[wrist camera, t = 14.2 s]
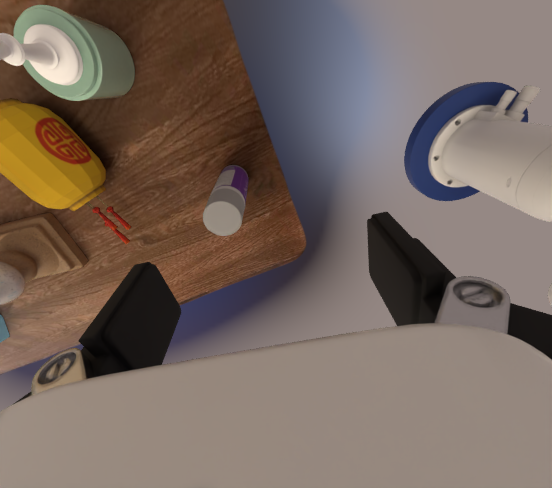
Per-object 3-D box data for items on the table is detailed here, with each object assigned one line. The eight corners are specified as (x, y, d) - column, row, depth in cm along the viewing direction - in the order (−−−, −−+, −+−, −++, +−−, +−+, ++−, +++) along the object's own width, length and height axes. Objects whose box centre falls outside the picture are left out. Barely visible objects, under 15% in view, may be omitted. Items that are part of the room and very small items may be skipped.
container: (252, 187, 43) (249, 229, 30) (227, 196, 44) (213, 241, 31) (241, 160, 41) (232, 194, 28) (214, 170, 41) (193, 208, 29)
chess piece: (93, 76, 27) (15, 71, 18) (53, 91, 27) (-42, 94, 19) (59, 16, 24) (-50, -22, 16) (15, 35, 25) (-114, 8, 16)
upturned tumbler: (64, 11, 31) (-1, -14, 23) (135, 37, 32) (96, 21, 24) (71, 86, 35) (17, 86, 27) (134, 106, 36) (100, 111, 28)
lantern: (132, 250, 36) (-140, -4, 22) (93, 269, 40) (-157, 66, 26) (166, 213, 44) (-16, 8, 29) (131, 232, 48) (-45, 60, 33)
